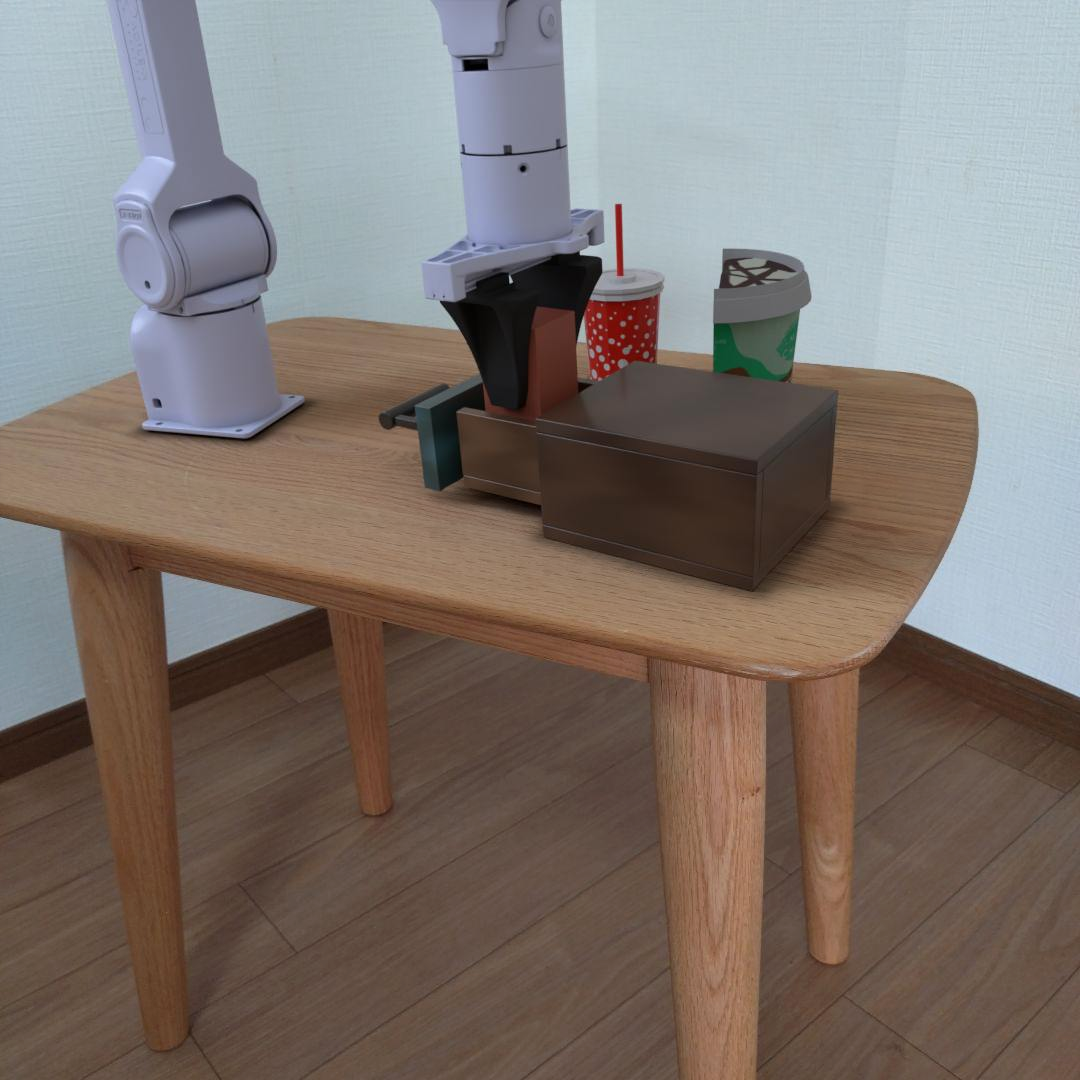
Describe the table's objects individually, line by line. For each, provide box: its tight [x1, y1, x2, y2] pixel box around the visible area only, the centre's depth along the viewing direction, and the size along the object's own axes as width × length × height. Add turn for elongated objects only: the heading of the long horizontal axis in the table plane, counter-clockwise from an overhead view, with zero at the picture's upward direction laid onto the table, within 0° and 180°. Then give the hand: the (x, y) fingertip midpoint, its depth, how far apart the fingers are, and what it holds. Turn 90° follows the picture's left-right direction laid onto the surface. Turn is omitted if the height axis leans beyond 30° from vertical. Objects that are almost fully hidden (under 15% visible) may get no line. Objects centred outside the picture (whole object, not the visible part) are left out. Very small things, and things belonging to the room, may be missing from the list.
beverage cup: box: [583, 203, 665, 381], centre depth 73 cm, size 6×6×14 cm
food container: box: [712, 248, 813, 383], centre depth 71 cm, size 12×6×10 cm, turn 168°
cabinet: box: [535, 361, 839, 592], centre depth 57 cm, size 13×11×7 cm
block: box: [483, 307, 579, 421], centre depth 60 cm, size 4×4×6 cm
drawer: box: [378, 373, 599, 506], centre depth 63 cm, size 16×9×5 cm, turn 56°
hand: (530, 393), depth 61 cm, fingers closed on block, 4 cm apart
